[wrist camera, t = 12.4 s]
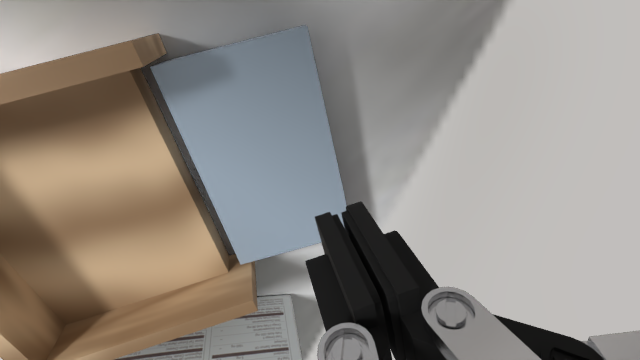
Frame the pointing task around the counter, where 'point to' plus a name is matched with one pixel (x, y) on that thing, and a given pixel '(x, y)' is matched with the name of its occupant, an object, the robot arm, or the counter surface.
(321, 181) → the panel
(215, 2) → the counter surface
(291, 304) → the supplement box
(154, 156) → the crate
